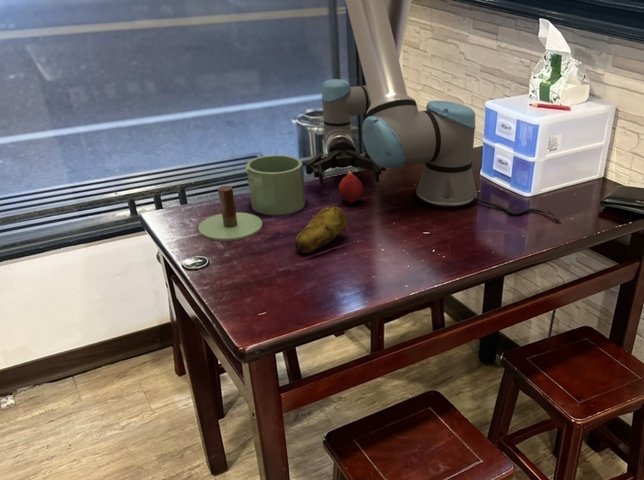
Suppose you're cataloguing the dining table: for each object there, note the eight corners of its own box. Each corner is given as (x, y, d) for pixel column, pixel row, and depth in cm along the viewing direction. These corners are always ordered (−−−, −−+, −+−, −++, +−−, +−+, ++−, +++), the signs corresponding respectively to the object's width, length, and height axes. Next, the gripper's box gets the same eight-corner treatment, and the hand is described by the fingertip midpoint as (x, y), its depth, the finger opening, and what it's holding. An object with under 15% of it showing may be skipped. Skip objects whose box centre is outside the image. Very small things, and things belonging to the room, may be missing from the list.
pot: (315, 208, 148) (312, 165, 142) (269, 221, 141) (264, 177, 135) (287, 192, 155) (283, 151, 150) (242, 204, 148) (236, 162, 142)
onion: (365, 199, 153) (364, 168, 149) (360, 208, 149) (360, 176, 144) (342, 197, 154) (340, 166, 149) (337, 206, 149) (335, 174, 145)
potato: (285, 245, 131) (282, 210, 127) (340, 232, 137) (338, 198, 133) (301, 261, 125) (298, 225, 121) (357, 247, 131) (356, 212, 127)
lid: (274, 232, 136) (269, 190, 131) (217, 249, 128) (209, 206, 123) (244, 212, 144) (238, 172, 139) (188, 227, 137) (180, 186, 131)
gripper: (386, 161, 171) (400, 190, 153) (295, 165, 166) (298, 195, 149) (386, 134, 167) (400, 161, 149) (293, 137, 162) (296, 165, 144)
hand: (349, 178), depth 149 cm, fingers open, 13 cm apart
